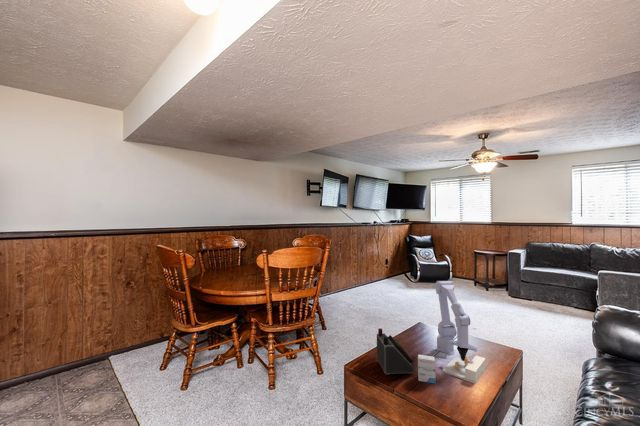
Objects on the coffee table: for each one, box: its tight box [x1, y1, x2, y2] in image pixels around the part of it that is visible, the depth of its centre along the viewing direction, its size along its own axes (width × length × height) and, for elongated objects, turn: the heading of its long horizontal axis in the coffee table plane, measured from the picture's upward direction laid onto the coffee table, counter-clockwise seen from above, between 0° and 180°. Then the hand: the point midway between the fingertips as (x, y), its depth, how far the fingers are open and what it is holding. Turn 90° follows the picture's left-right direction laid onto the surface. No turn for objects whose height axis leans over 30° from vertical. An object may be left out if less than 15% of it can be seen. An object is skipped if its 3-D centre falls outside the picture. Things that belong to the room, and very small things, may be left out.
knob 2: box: [464, 356, 472, 365], centre depth 159 cm, size 3×4×4 cm
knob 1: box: [455, 362, 462, 370], centre depth 154 cm, size 3×4×4 cm
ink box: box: [417, 354, 437, 384], centre depth 147 cm, size 8×5×12 cm, turn 71°
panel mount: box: [442, 355, 487, 385], centre depth 156 cm, size 16×20×6 cm
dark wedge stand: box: [376, 328, 415, 376], centre depth 159 cm, size 16×16×20 cm
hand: (463, 360), depth 160 cm, fingers closed
